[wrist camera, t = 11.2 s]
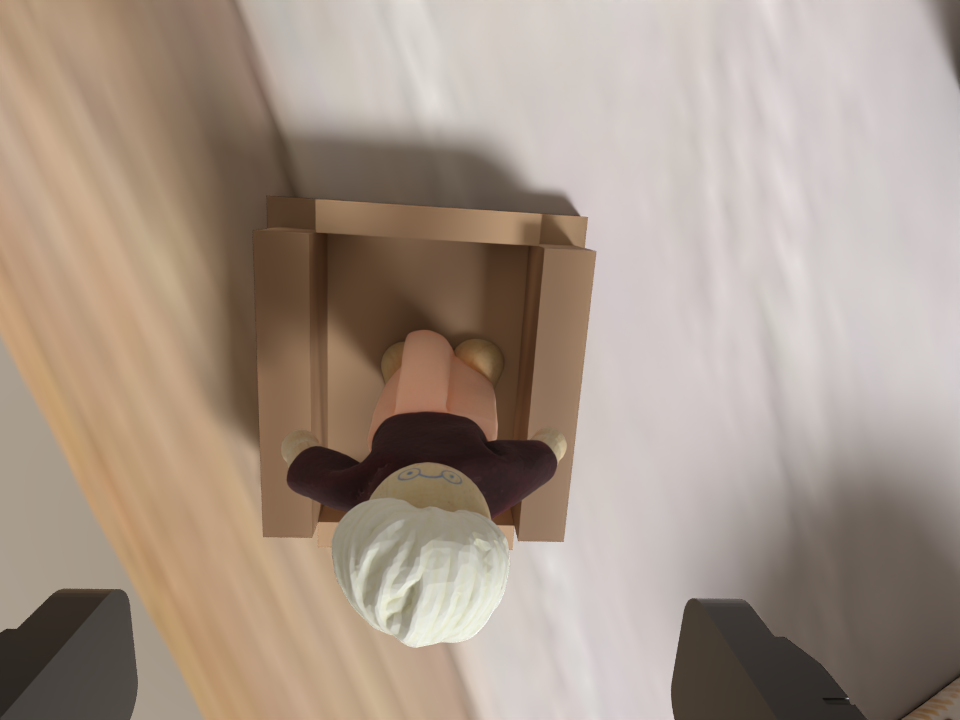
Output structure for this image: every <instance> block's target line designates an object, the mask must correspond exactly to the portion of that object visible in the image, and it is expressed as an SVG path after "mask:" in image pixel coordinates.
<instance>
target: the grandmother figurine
mask: <svg viewBox="0 0 960 720" xmlns="http://www.w3.org/2000/svg"><path fill="white" fill-rule="evenodd" d="M381 369H382V373H383V377H384V380H385V384H386V385H385V387H384V389H383V391H382V393H381V396H380V398H379V400H378V403H377V405H376V408H375V411H374V414H373V418H372V424H371V427H370V431H369V435H368V439H367V440H368V447H369V450H370V454H369V455H368V456H367V457H366V458H365V460H363V461H362V462H361V463H360V462H358V461H357V460H355V459H353V458H351V457H349V456H348V455H346V454H343V453H341V452H338V451H335V450H332V449H329V448H325V447H323V446H322V445H321V444H320V442H319V440H318V438H317V437H316V436H315V435H314V434H312V433H311V432H309V431H307V430H296V431H293V432H292V433H290V434H288V435H287V436H286V437H285V439H284V440H283V442H282V446H281V453H282V456H283V458H284V460H285V461H286V462H287V464H288V468H289V469H288V472H287V479H286V481H287V485H288V486H289V488H290V489H291V490H293V491H294V492H296V493H298V494H300V495H302V496H305V497H309V498H310V499H313V500H315V501H317V502H319V503H321V504H323V505H325V506H328V507H330V508H333V509H337V510H342V511H349V512H348V513H346V514H345V515H344V517H343V518H342V519H341V520H340V522H339V524H338V526H337V527H336V529H335V531H334V534H333V537H332V540H331V543H332V558H333V563H334V571H335V575H336V578H337V582H338V583H339V584H340V586H341V588H342V590H343V592H344V594H345V596H346V598H347V600H348V601H349V603H350V604H351V605H352V607H353V608H354V609H355V610H356V611H357V612H358V613H359V614H360V615H361V616H362V617H363V618H364V619H365V620H366V621H367V622H368V623H369V624H370V625H371V626H372V627H373V628H375V629H377V630H380V631H382V632H384V633H387V634H391V635H393V636H395V637H396V638H397V639H398V640H399V641H400V642H402V643H404V644H405V645H407V646H410V647H414V648H417V647H421V646H426V645H432V644H436V643H438V642H450V643H456V642H461V641H465V640H467V639H470V638H472V637H473V636H474V635H476V634H477V633H478V632H479V631H480V629H481V628H482V627H483V626H484V625H485V624H486V623H487V621H488V620H489V618H490V616H491V614H492V612H493V611H494V610H495V609H496V607H497V606H498V605H499V603H500V601H501V599H502V596H503V594H504V591H505V587H506V583H507V580H508V574H509V567H510V553H509V548H508V542H507V539H506V537H505V535H504V534H503V532H502V531H501V530H500V529H499V527H498V526H497V525H496V524H495V523H494V522H493V521H492V519H493V518H495V517H496V516H498V515H500V514H501V513H503V512H505V511H506V510H508V509H509V508H511V507H512V506H514V505H516V504H517V503H519V502H520V501H521V500H523V499H524V498H526V497H527V496H528V495H530V494H531V493H532V492H534V491H535V490H537V489H538V488H539V487H541V486H542V485H544V484H545V483H547V482H548V481H549V480H550V479H551V478H552V477H553V476H554V474H555V472H556V469H557V465H558V463H559V461H560V459H561V458H562V457H563V456H564V454H565V452H566V449H567V443H566V440H565V437H564V436H563V434H562V433H561V432H560V431H558V430H556V429H555V428H550V427H548V428H542V429H540V430H539V431H537V432H536V433H535V434H534V435H533V437H532V438H530V439H529V440H496V439H497V429H498V423H497V413H496V399H495V393H494V389H495V387H496V385H497V383H498V381H499V379H500V377H501V374H502V372H503V369H504V357H503V354H502V352H501V351H500V349H499V348H498V347H497V346H496V345H495V344H493V343H491V342H489V341H486V340H481V339H470V340H466V341H464V342H462V343H461V344H460V345H458V346H457V347H456V349H455V350H454V351H453V349H452V347H451V345H450V344H449V342H448V341H447V340H446V338H445V337H443V336H442V335H440V334H438V333H436V332H433V331H430V330H418V331H413V332H411V333H409V334H408V335H407V337H406V340H405V342H398V343H396V344H393V345H392V346H391V347H389V348H388V349H387V350H386V351H385V353H384V355H383V357H382V361H381Z"/></svg>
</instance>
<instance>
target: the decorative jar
mask: <svg viewBox="0 0 960 720" xmlns="http://www.w3.org/2000/svg"><path fill="white" fill-rule="evenodd" d="M901 720H960V677H959V678H957V679H956V680H955V681H953V682H952V683H951V684H949V685H948V686H947V687H945V688H944V689H943V690H941V691H940V692H938V693H937V694H936V695H935V696H934V697H932V698H931V699H929V700H928V701H926V702H925V703H924V704H922V705H921V706H920V707H918V708H917V709H915V710H914V711H913V712H911V713H910V714H908V715H907V716H906V717H904V718H903V719H901Z"/></svg>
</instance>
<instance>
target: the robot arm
mask: <svg viewBox="0 0 960 720" xmlns="http://www.w3.org/2000/svg"><path fill="white" fill-rule="evenodd" d="M137 687H138V679H137V669H136V659H135V650H134V640H133V631H132V622H131V612H130V604H129V599H128V596H127V594H126V593H125V592H124V591H123V590H120V589H61V590H58V591H56V592H55V593H53V594H52V595H51V596H50V597H49V598H48V599H47V600H46V601H45V602H44V603H43V604H42V605H41V606H40V607H39V608H38V609H37V610H36V611H35V612H34V613H33V614H32V615H31V616H30V617H29V618H27V619H26V620H25V622H23V624H21V626H19V627H18V628H17V629H6V630H4V631H3V632H1V633H0V720H130V718H131V716H132V713H133V709H134V705H135V701H136V696H137ZM671 700H672V708H673V714H674V719H675V720H867V719H866V718H865V717H864V715H863V714H862V713H861V712H860V711H859V709H858V708H857V707H856V706H855V705H851V704H850V702H849V697H848V696H847V695H846V694H845V692H844V691H843V690H842V689H841V688H840V686H839V685H838V684H837V683H836V682H835V680H834V679H833V678H832V677H831V676H830V674H829V673H828V672H827V671H826V670H825V668H824V667H823V666H822V665H821V664H820V663H819V662H817V661H816V660H815V659H813V658H812V657H811V656H809V655H808V654H807V653H805V652H804V651H803V650H801V649H800V648H799V647H797V646H796V645H795V644H793V643H792V642H791V641H789V640H788V639H787V638H785V637H774V635H773V634H772V633H771V632H770V630H769V629H768V628H767V626H766V625H765V624H764V623H763V621H762V620H761V619H760V617H759V616H758V615H757V613H756V612H755V611H754V610H753V608H752V607H751V606H750V605H749V604H748V603H747V602H746V601H744V600H742V599H694V598H692V599H690V600H689V601H688V602H687V604H686V606H685V609H684V614H683V619H682V625H681V631H680V637H679V643H678V649H677V654H676V660H675V666H674V672H673V678H672V685H671Z"/></svg>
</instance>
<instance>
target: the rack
mask: <svg viewBox="0 0 960 720" xmlns="http://www.w3.org/2000/svg"><path fill="white" fill-rule="evenodd" d="M587 221H588V217H581V216H566V215H551V214H536V213H521V212H506V211H491V210H475V209H460V208H445V207H430V206H415V205H400V204H385V203H370V202H355V201H339V200H324V199H309V198H294V197H279V196H267V228H268V229H260V230H253V255H254V285H255V315H256V344H257V374H258V404H259V433H260V463H261V493H262V522H263V537H296V538H312V536H313V534H314V531H315V528H316V526H317V523H318V547H332V543H331V540H332V537H333V534H334V531H335V529H336V527H337V526H338V524H339V522H340V520H341V519H342V518H343V517H344V515H345V514H346V513H348V512H349V511H342V510H337V509H333V508H330V507H328V506H325V505H323V504H321V503H319V502H317V501H315V500H313V499H310V498H309V497H305V496H302V495H300V494H298V493H296V492H294V491H293V490H291V489H290V488H289V486H288V485H287V481H286V479H287V472H288V469H289V468H288V464H287V462H286V461H285V460H284V458H283V456H282V453H281V446H282V442H283V440H284V439H285V437H286V436H287V435H288V434H290V433H292V432H293V431H296V430H307V431H309V432H311V433H312V434H314V435H315V436H316V437H317V438H318V440H319V442H320V444H321V445H322V446H323V447H325V448H329V449H332V450H335V451H338V452H341V453H343V454H346V455H348V456H349V457H351V458H353V459H355V460H357V461H358V462H360V463H361V462H362V461H363V460H365V458H366V457H367V456H368V455H369V454H370V450H369V447H368V440H367V439H368V435H369V431H370V427H371V424H372V418H373V414H374V411H375V408H376V405H377V403H378V400H379V398H380V396H381V393H382V391H383V389H384V387H385V385H386V384H385V380H384V377H383V373H382V369H381V361H382V357H383V355H384V353H385V351H386V350H387V349H388V348H389V347H391V346H392V345H393V344H396V343H398V342H405V340H406V337H407V335H408V334H409V333H411V332H413V331H418V330H430V331H433V332H436V333H438V334H440V335H442V336H443V337H445V338H446V340H447V341H448V342H449V344H450V345H451V347H452V349H453V351H454V350H455V349H456V347H457V346H458V345H460V344H461V343H462V342H464V341H466V340H470V339H481V340H486V341H489V342H491V343H493V344H495V345H496V346H497V347H498V348H499V349H500V351H501V352H502V354H503V357H504V369H503V372H502V374H501V377H500V379H499V381H498V383H497V385H496V387H495V389H494V393H495V399H496V413H497V423H498V429H497V439H496V440H529V439H530V438H532V437H533V435H534V434H535V433H536V432H537V431H539V430H540V429H542V428H548V427H550V428H555V429H556V430H558V431H560V432H561V433H562V434H563V436H564V437H565V440H566V443H567V449H566V452H565V454H564V456H563V457H562V458H561V459H560V461H559V463H558V465H557V469H556V472H555V474H554V476H553V477H552V478H551V479H550V480H549V481H548V482H547V483H545V484H544V485H542V486H541V487H539V488H538V489H537V490H535V491H534V492H532V493H531V494H530V495H528V496H527V497H526V498H524V499H523V500H521V501H520V502H519V503H517V504H516V505H514V506H512V507H511V508H509V509H508V510H506V511H505V512H503V513H501V514H500V515H498V516H496V517H495V518H493V519H492V521H493V522H494V523H495V524H496V525H497V526H498V527H499V529H500V530H501V531H502V532H503V534H504V535H505V537H506V539H507V542H508V548H509V550H512V548H513V536H514V526H515V530H516V534H517V538H518V541H547V542H564V534H565V525H566V516H567V507H568V498H569V489H570V480H571V472H572V463H573V454H574V445H575V436H576V427H577V418H578V410H579V401H580V392H581V383H582V374H583V365H584V356H585V347H586V339H587V330H588V321H589V312H590V303H591V294H592V285H593V277H594V268H595V259H596V251H593V250H590V249H586V248H585V239H586V230H587Z"/></svg>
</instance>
